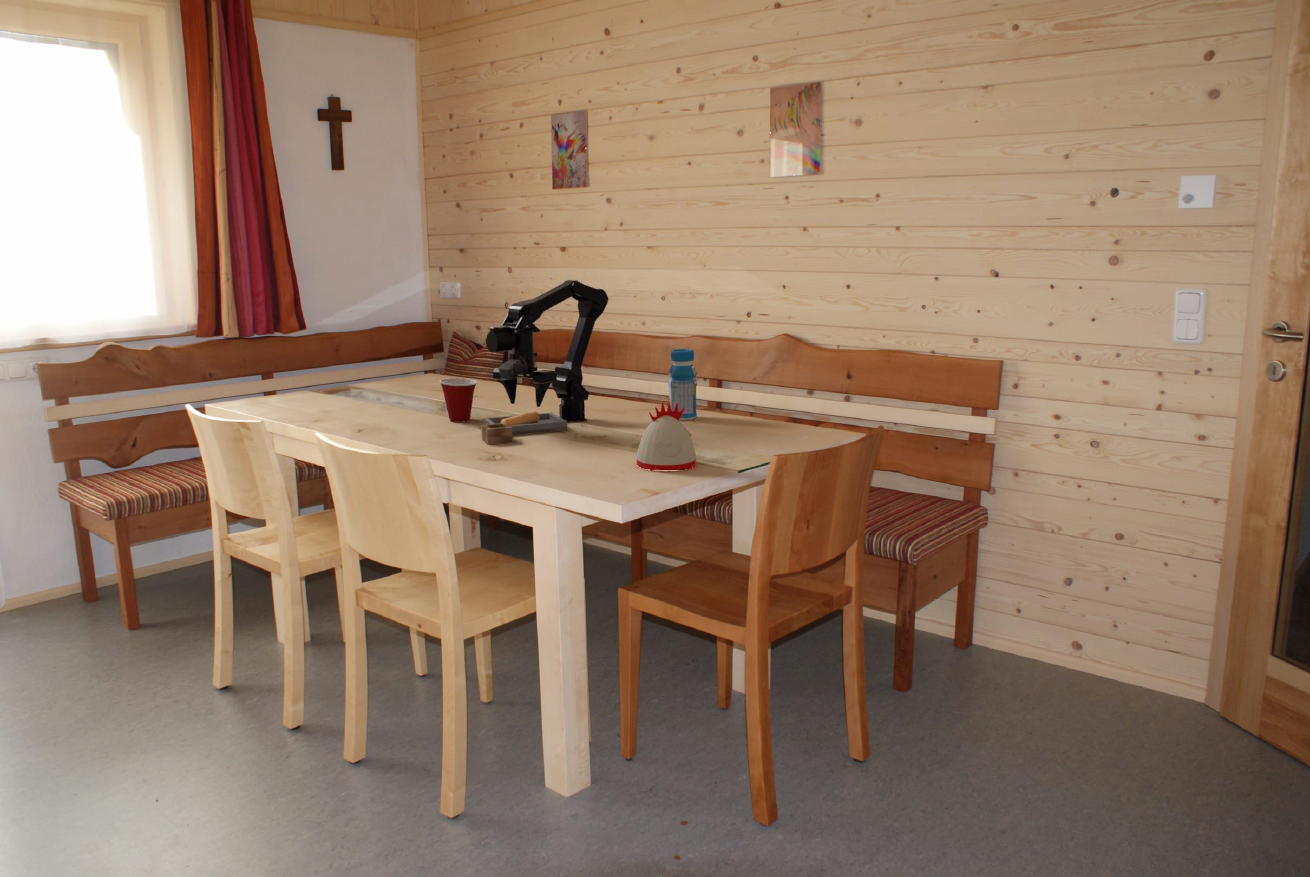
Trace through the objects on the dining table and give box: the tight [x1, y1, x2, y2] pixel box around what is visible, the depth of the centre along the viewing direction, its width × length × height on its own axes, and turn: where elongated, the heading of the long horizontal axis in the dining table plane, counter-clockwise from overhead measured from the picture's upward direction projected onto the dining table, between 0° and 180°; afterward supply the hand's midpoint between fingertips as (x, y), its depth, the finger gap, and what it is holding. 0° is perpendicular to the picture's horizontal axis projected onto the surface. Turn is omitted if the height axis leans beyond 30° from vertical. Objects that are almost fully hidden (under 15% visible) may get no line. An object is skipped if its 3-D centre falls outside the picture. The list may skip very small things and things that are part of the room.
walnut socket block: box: [481, 423, 514, 445], centre depth 256 cm, size 7×7×4 cm
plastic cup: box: [439, 377, 478, 423], centre depth 284 cm, size 11×11×12 cm
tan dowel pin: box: [501, 411, 540, 425], centre depth 271 cm, size 3×3×13 cm
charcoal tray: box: [482, 412, 568, 436], centre depth 272 cm, size 20×15×2 cm
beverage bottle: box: [667, 348, 698, 421], centre depth 283 cm, size 8×8×20 cm
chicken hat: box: [636, 401, 697, 471], centre depth 227 cm, size 14×14×15 cm
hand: (525, 405), depth 271 cm, fingers open, 9 cm apart
